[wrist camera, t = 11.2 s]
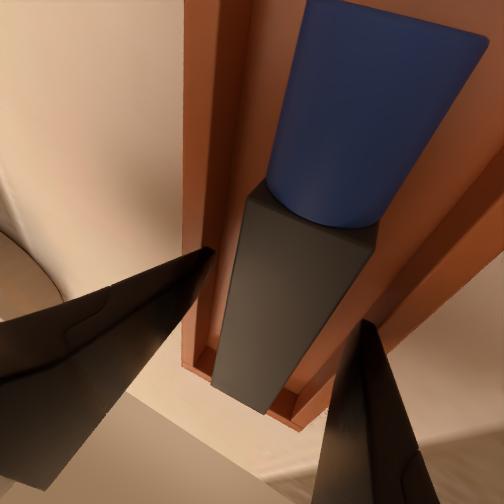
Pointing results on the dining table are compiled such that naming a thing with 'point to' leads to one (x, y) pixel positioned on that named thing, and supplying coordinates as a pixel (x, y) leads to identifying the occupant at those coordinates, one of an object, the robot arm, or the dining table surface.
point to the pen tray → (395, 217)
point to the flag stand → (22, 283)
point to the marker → (331, 180)
